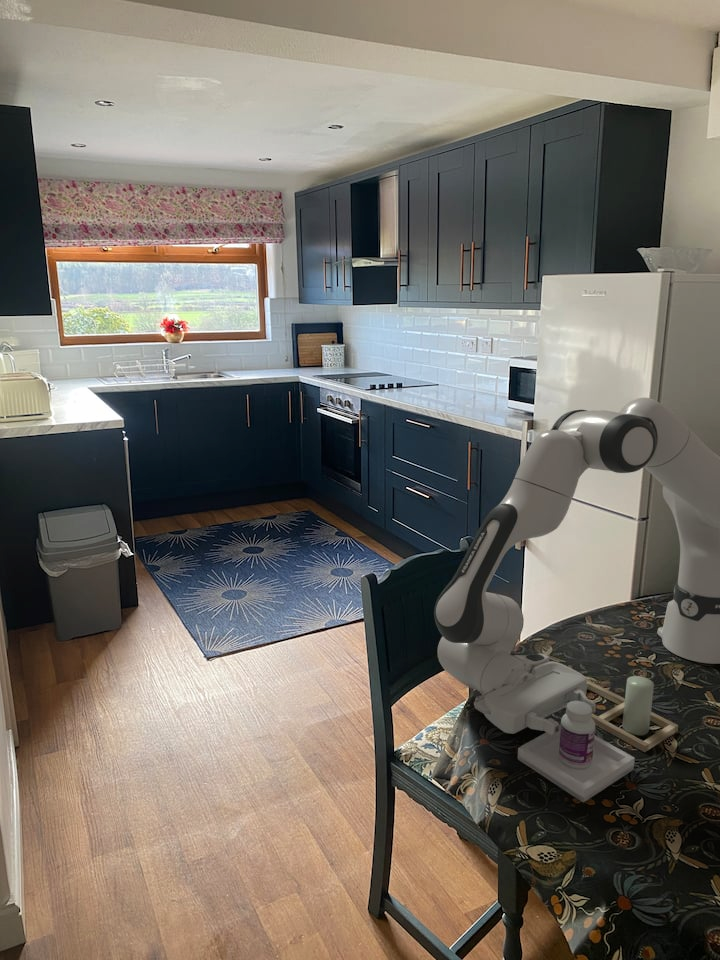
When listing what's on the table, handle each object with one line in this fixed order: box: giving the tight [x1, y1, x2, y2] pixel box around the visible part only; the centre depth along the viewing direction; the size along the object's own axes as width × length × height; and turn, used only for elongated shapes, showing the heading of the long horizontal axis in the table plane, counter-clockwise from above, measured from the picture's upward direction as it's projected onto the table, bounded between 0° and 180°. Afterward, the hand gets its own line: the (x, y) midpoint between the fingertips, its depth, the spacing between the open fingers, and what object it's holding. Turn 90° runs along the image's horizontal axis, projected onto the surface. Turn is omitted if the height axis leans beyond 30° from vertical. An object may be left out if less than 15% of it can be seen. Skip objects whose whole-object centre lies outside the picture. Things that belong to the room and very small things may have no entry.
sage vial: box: [621, 675, 655, 736], centre depth 125 cm, size 4×4×9 cm
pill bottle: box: [559, 701, 596, 769], centre depth 115 cm, size 5×5×10 cm
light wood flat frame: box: [563, 679, 679, 753], centre depth 130 cm, size 10×19×1 cm, turn 36°
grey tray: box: [517, 724, 636, 804], centre depth 116 cm, size 13×13×2 cm
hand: (575, 719), depth 115 cm, fingers open, 8 cm apart
